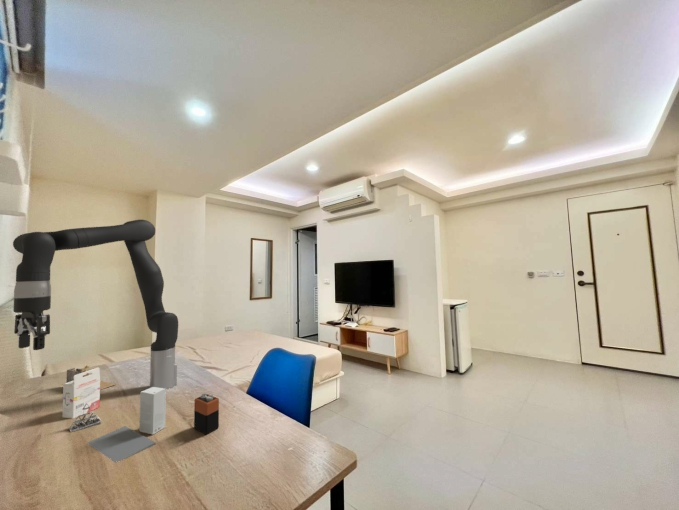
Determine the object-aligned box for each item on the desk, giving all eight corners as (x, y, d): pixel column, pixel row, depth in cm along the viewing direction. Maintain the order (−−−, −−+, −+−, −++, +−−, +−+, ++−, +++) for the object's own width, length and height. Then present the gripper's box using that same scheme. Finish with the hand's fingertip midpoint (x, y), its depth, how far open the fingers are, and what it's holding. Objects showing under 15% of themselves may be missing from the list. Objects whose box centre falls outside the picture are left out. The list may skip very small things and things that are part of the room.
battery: (206, 435, 78) (206, 400, 79) (193, 429, 81) (193, 395, 82) (219, 428, 82) (219, 395, 82) (206, 422, 85) (207, 390, 86)
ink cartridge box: (89, 406, 98) (91, 366, 99) (100, 407, 97) (101, 366, 98) (60, 418, 89) (63, 374, 90) (72, 420, 88) (74, 375, 89)
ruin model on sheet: (116, 384, 119) (116, 362, 119) (67, 401, 104) (69, 375, 104) (84, 377, 128) (85, 357, 129) (36, 391, 113) (37, 368, 113)
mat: (124, 428, 83) (125, 426, 83) (155, 444, 74) (155, 442, 74) (68, 453, 71) (68, 451, 72) (96, 476, 63) (96, 473, 63)
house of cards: (105, 414, 92) (106, 392, 93) (108, 423, 86) (109, 399, 87) (68, 425, 86) (69, 401, 86) (69, 436, 80) (70, 410, 80)
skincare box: (166, 427, 83) (166, 388, 84) (152, 435, 79) (153, 394, 79) (152, 424, 85) (153, 386, 85) (138, 432, 81) (139, 391, 81)
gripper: (62, 294, 83) (60, 346, 82) (37, 294, 88) (36, 343, 87) (27, 297, 76) (25, 354, 75) (3, 297, 81) (1, 350, 80)
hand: (31, 348), depth 81 cm, fingers open, 8 cm apart
